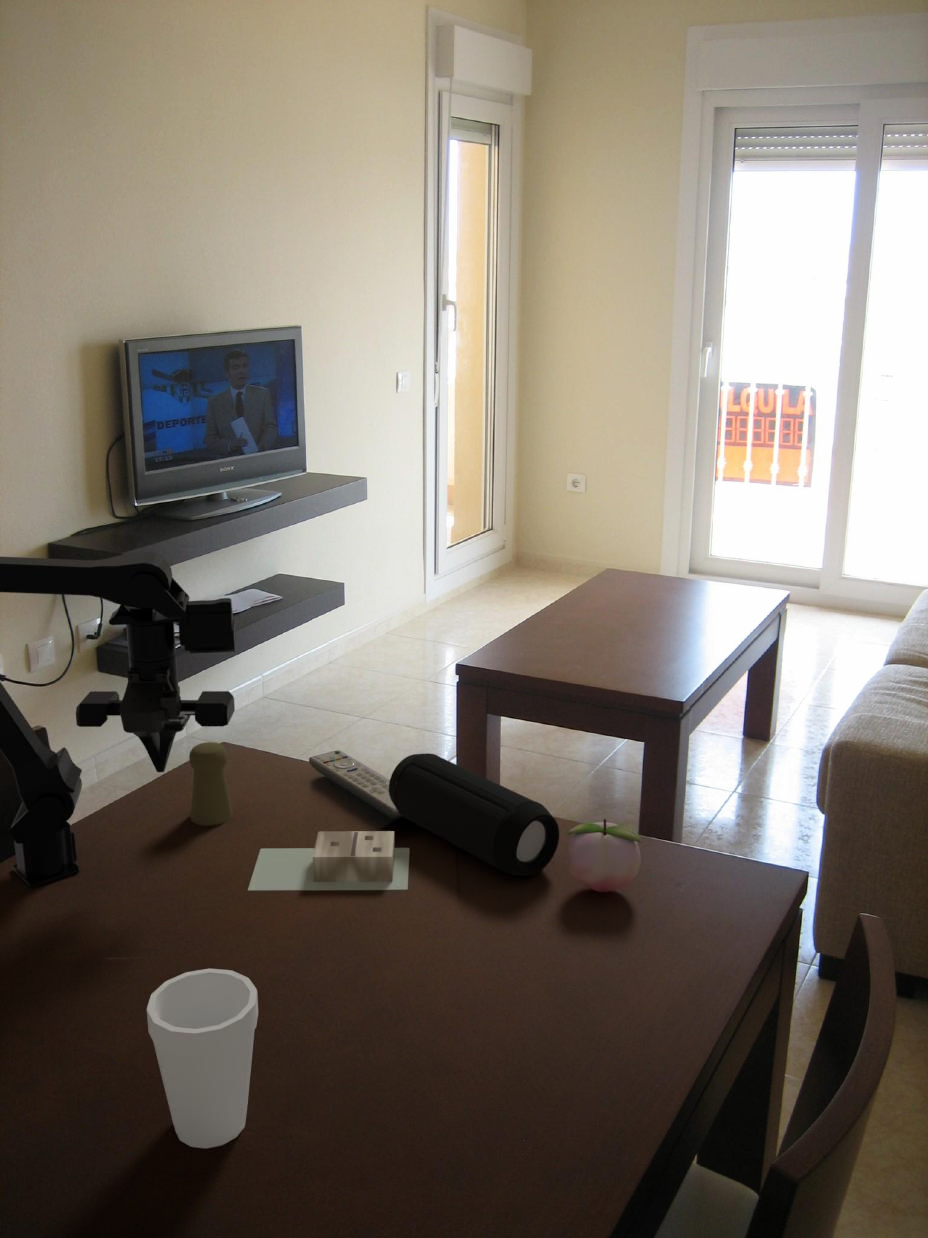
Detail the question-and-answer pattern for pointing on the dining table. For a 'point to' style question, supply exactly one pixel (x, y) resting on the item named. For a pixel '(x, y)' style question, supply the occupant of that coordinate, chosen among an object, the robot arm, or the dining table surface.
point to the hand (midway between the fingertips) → (161, 771)
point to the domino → (354, 856)
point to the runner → (297, 872)
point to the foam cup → (205, 1051)
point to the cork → (209, 785)
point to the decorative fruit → (603, 855)
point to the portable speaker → (475, 814)
